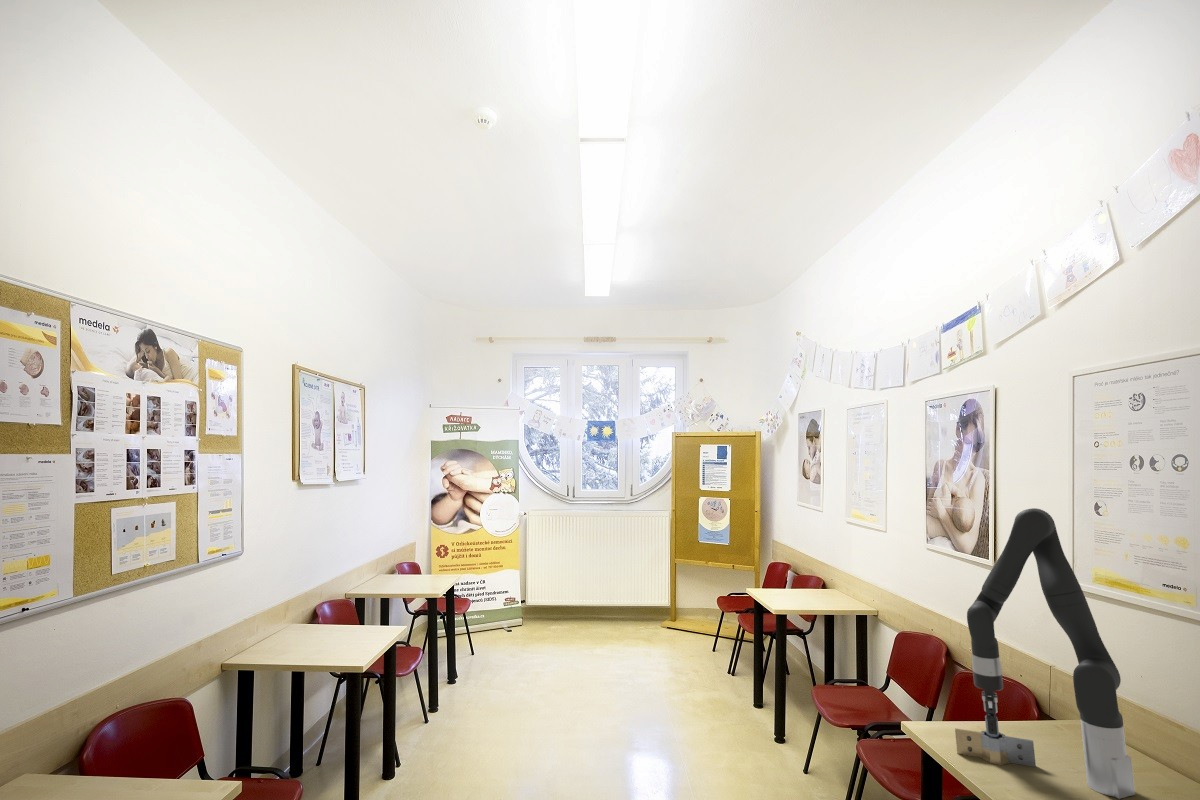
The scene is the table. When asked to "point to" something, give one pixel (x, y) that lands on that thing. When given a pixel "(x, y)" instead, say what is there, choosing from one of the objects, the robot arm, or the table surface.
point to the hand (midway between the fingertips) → (992, 729)
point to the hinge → (995, 748)
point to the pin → (988, 731)
